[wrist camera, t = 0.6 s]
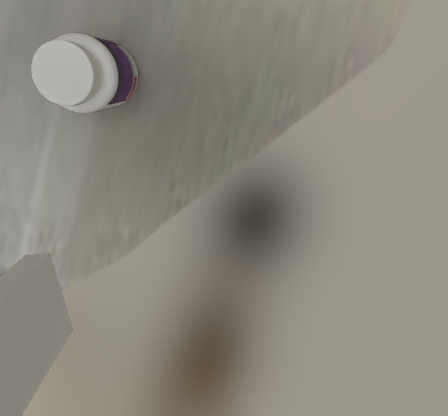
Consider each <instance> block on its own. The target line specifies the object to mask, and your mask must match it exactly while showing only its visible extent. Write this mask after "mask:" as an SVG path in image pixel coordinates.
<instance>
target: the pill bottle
mask: <svg viewBox="0 0 448 416" xmlns="http://www.w3.org/2000/svg"><path fill="white" fill-rule="evenodd" d="M31 73H32V78H33V81H34V83H35V85H36V87H37V89H38V90H39V91H40V93H41V94H42V95H43V96H44V97H45V98H46V99H48V100H49V101H51V102H53V103H55V104H58V105H60V106H62V107H63V108H65V109H67V110H69V111H72V112H76V113H92V112H96V111H100V110H104V109H108V108H111V107H115V106H118V105H121V104H123V103H124V102H126V101H127V100H128V99H129V98H130V97H131V96H132V95H133V94H134V92H135V90H136V87H137V83H138V71H137V67H136V64H135V62H134V60H133V58H132V56H131V55H130V54H129V53H128V52H127V51H126V50H125V49H124V48H123V47H121V46H120V45H118V44H116V43H114V42H111V41H107V40H103V39H100V38H97V37H93V36H90V35H86V34H82V33H67V34H63V35H61V36H59V37H57V38H55V39H54V40H51V41H48V42H46V43H44V44H43V45H41V46H40V47H39V48H38V49H37V51H36V52H35V54H34V56H33V59H32V63H31Z"/></svg>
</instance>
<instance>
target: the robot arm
mask: <svg viewBox="0 0 448 416" xmlns="http://www.w3.org/2000/svg"><path fill="white" fill-rule="evenodd" d="M72 331H73V328H72V324H71V321H70V318H69V314H68V311H67V308H66V304H65V301H64V298H63V294H62V291H61V288H60V284H59V281H58V278H57V274H56V271H55V268H54V264H53V261H52V258H51V254H50V253H43V254H34V255H25V256H24V257H23V258H22V259H21V260H19V261H18V262H17V263H16V264H15V265H14V266H13V267H12V268H10V269H9V270H8V271H7V272H6V273H5V274H4V275H3V276H2V277H0V416H22V414H23V412H24V411H25V409H26V407H27V406H28V404H29V402H30V401H31V399H32V397H33V396H34V394H35V392H36V391H37V389H38V388H39V386H40V384H41V383H42V381H43V379H44V378H45V376H46V374H47V372H48V371H49V369H50V367H51V366H52V364H53V363H54V361H55V359H56V358H57V356H58V354H59V352H60V351H61V349H62V348H63V346H64V344H65V343H66V341H67V339H68V338H69V336H70V334H71V333H72Z"/></svg>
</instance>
